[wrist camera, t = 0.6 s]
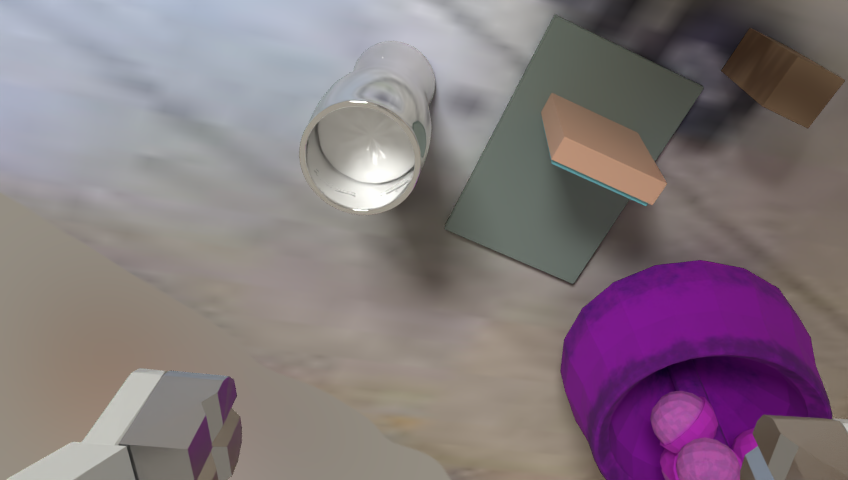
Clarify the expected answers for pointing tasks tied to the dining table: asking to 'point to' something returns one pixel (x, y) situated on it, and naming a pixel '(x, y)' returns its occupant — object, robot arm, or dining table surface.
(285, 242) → the dining table surface
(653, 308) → the decorative plant
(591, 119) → the tile
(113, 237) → the dining table surface
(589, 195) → the mat
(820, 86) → the walnut block
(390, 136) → the beer glass
